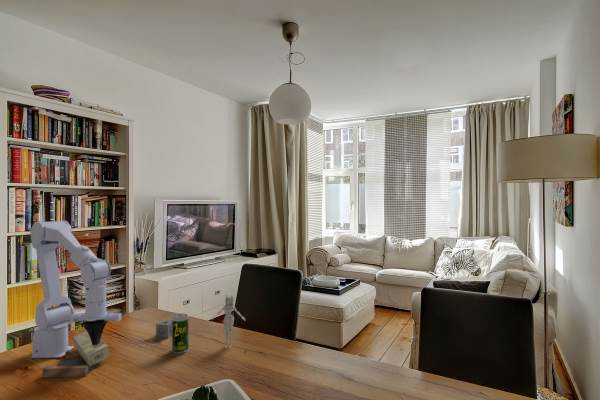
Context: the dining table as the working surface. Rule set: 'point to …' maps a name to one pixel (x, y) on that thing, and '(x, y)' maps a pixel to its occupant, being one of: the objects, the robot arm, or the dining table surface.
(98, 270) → the robot arm
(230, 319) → the human figurine
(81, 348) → the skincare box
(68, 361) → the u rest
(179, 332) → the beer can
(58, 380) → the dining table surface
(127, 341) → the dining table surface
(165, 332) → the dice cube
